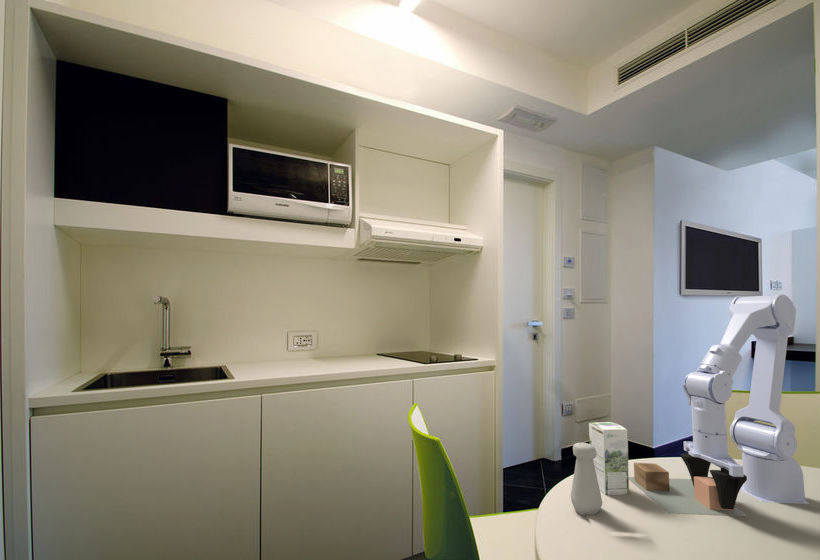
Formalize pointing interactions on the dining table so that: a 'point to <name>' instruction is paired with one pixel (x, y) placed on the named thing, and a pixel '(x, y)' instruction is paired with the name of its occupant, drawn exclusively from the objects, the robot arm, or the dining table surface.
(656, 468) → the walnut block
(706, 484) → the terracotta cube
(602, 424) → the syrup box
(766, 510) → the dining table surface
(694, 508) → the slate board
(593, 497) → the salt shaker
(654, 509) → the dining table surface
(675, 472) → the dining table surface
